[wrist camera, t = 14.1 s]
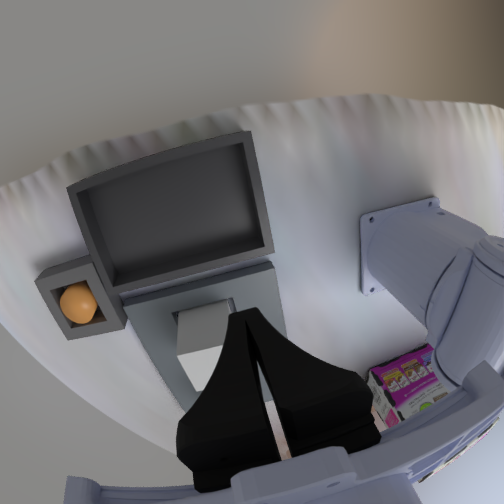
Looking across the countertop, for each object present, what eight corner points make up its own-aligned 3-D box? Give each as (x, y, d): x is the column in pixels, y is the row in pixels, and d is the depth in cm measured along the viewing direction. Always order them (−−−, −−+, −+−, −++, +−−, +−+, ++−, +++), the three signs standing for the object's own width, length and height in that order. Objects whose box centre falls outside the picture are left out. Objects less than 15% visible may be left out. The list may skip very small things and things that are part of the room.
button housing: (100, 251, 20) (92, 262, 18) (128, 314, 22) (124, 329, 20) (44, 269, 19) (34, 281, 17) (74, 326, 22) (67, 340, 20)
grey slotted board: (270, 261, 23) (274, 268, 22) (293, 385, 29) (296, 392, 28) (125, 299, 22) (122, 307, 21) (189, 410, 28) (189, 418, 27)
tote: (244, 131, 18) (250, 130, 16) (266, 239, 22) (274, 252, 20) (80, 180, 17) (66, 187, 15) (116, 279, 21) (109, 295, 19)
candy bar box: (362, 391, 33) (417, 485, 18) (367, 368, 31) (433, 470, 16) (425, 363, 34) (484, 438, 20) (433, 339, 32) (502, 417, 18)
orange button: (90, 274, 20) (82, 287, 18) (105, 305, 21) (99, 319, 19) (62, 283, 20) (53, 295, 18) (78, 312, 21) (71, 326, 19)
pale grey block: (225, 293, 23) (235, 341, 18) (237, 329, 25) (248, 379, 19) (179, 305, 23) (176, 355, 17) (194, 340, 25) (196, 391, 19)
